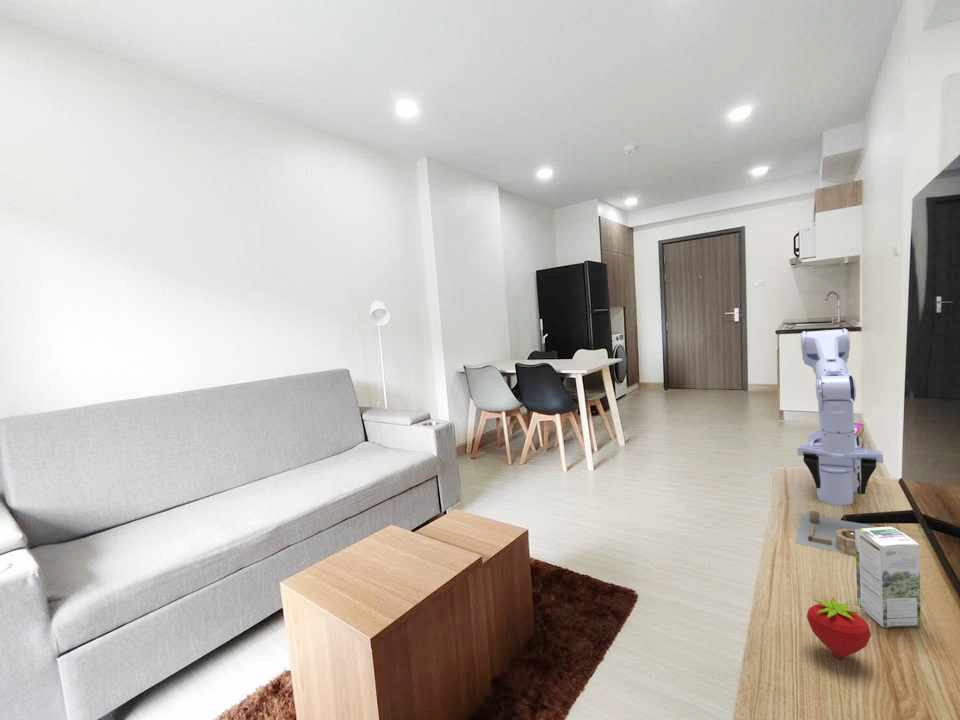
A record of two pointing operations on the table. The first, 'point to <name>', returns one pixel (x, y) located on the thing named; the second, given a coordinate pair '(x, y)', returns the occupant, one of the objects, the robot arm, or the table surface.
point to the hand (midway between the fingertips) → (840, 489)
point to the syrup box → (888, 576)
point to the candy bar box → (857, 471)
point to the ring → (845, 542)
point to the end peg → (850, 534)
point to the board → (823, 531)
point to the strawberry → (838, 627)
